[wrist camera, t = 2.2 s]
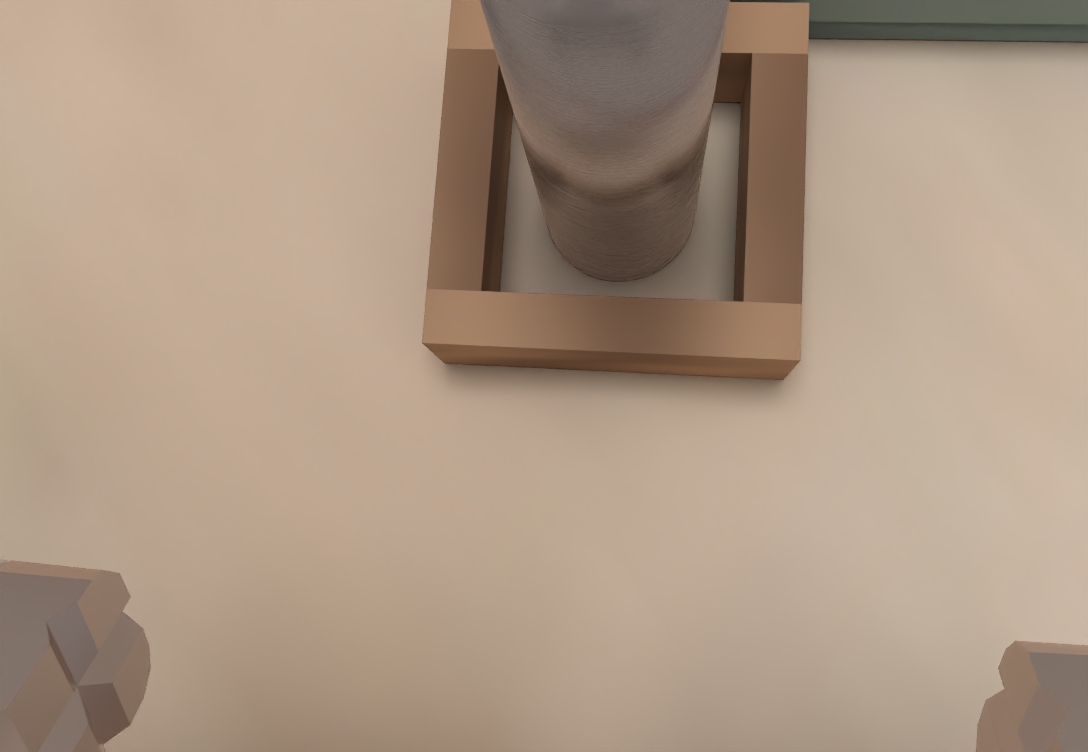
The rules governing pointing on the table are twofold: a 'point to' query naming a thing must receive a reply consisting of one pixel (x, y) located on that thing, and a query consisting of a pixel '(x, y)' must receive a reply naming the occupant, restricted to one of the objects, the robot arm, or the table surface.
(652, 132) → the peg
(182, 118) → the table surface
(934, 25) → the tray
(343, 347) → the table surface
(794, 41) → the collar
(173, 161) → the table surface
